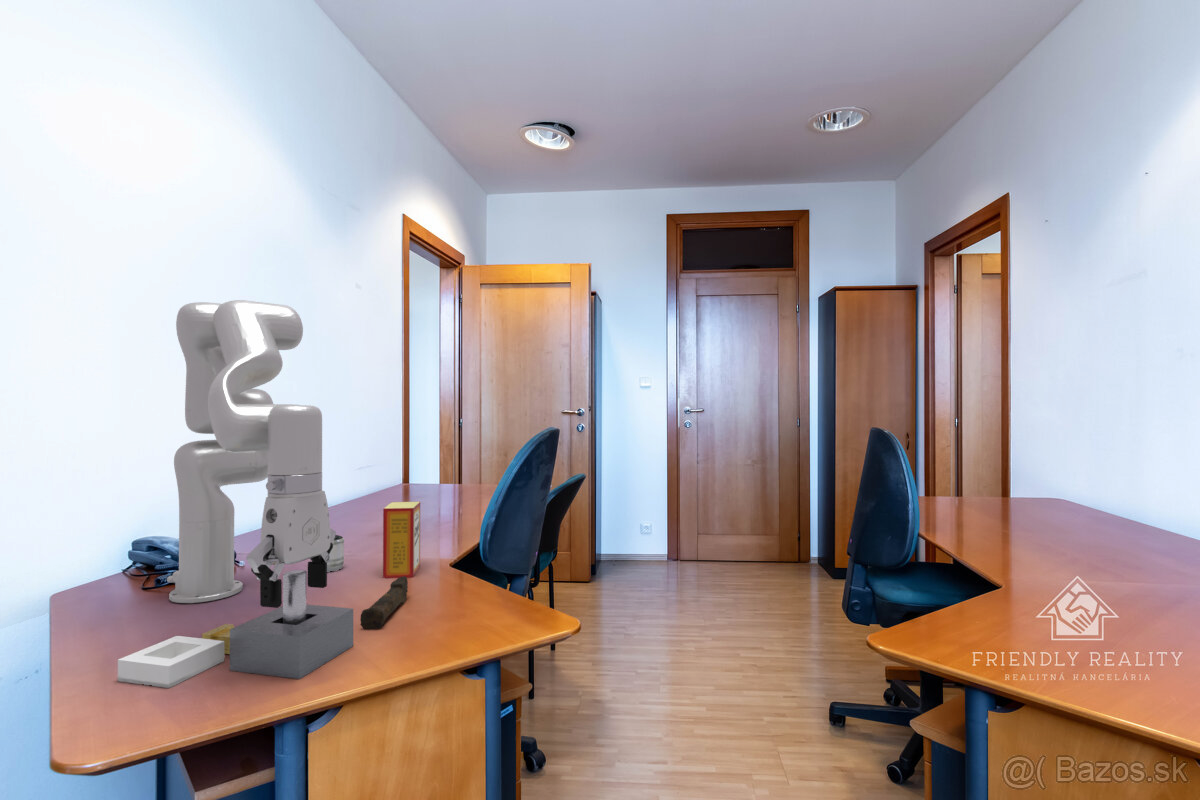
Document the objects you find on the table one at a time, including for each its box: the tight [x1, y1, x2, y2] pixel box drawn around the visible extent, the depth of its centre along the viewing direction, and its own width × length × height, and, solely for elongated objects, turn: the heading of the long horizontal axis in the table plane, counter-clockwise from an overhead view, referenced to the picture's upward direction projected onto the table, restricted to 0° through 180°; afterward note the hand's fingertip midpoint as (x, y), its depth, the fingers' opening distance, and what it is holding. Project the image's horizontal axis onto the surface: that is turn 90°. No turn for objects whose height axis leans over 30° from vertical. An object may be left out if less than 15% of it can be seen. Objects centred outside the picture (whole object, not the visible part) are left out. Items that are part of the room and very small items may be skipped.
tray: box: [117, 635, 225, 689], centre depth 87 cm, size 9×9×3 cm
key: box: [201, 623, 235, 655], centre depth 94 cm, size 13×4×3 cm, turn 77°
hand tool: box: [359, 576, 409, 630], centre depth 113 cm, size 19×4×5 cm, turn 178°
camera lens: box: [327, 534, 345, 573], centre depth 141 cm, size 6×6×8 cm
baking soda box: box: [382, 501, 421, 579], centre depth 139 cm, size 10×6×16 cm
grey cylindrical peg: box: [282, 569, 307, 625], centre depth 92 cm, size 3×3×13 cm
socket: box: [229, 603, 354, 680], centre depth 92 cm, size 12×12×6 cm
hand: (295, 596), depth 92 cm, fingers open, 9 cm apart
